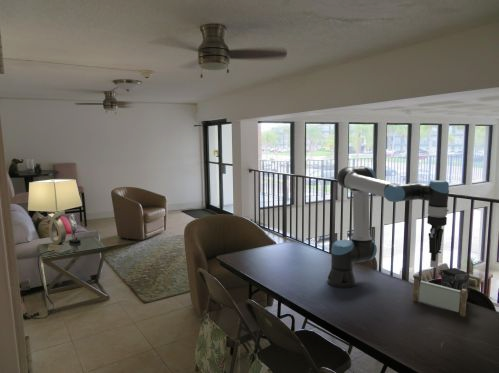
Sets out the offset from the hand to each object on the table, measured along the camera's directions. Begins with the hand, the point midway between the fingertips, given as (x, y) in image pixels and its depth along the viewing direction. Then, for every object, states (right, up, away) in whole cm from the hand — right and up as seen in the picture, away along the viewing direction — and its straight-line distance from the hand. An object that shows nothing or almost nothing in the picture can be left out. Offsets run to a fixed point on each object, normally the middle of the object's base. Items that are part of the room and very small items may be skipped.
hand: (433, 267), depth 157 cm
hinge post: (-1, -21, +16) cm, 26 cm away
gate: (+7, -20, +9) cm, 23 cm away
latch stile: (+14, -22, +2) cm, 26 cm away
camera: (+19, -21, +16) cm, 32 cm away
